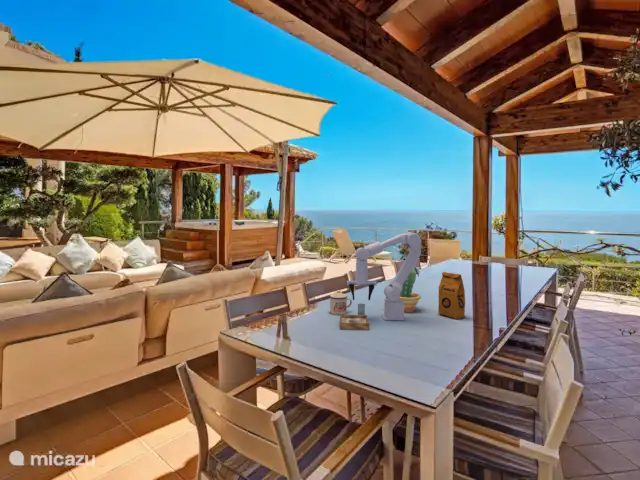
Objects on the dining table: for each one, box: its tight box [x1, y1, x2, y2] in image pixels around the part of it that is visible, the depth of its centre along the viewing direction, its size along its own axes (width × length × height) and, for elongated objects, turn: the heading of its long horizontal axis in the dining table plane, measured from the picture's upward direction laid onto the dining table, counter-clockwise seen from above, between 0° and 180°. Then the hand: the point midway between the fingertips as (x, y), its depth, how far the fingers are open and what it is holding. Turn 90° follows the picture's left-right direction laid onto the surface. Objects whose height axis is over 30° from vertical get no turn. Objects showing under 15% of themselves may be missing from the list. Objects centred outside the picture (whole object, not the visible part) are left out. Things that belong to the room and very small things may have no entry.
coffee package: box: [437, 271, 466, 320], centre depth 186 cm, size 10×12×22 cm
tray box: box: [339, 314, 370, 331], centre depth 171 cm, size 13×13×3 cm
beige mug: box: [329, 290, 353, 316], centre depth 193 cm, size 12×9×12 cm
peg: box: [357, 303, 366, 315], centre depth 182 cm, size 3×3×7 cm
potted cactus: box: [399, 265, 422, 313], centre depth 198 cm, size 15×15×25 cm
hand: (361, 299), depth 182 cm, fingers open, 7 cm apart
